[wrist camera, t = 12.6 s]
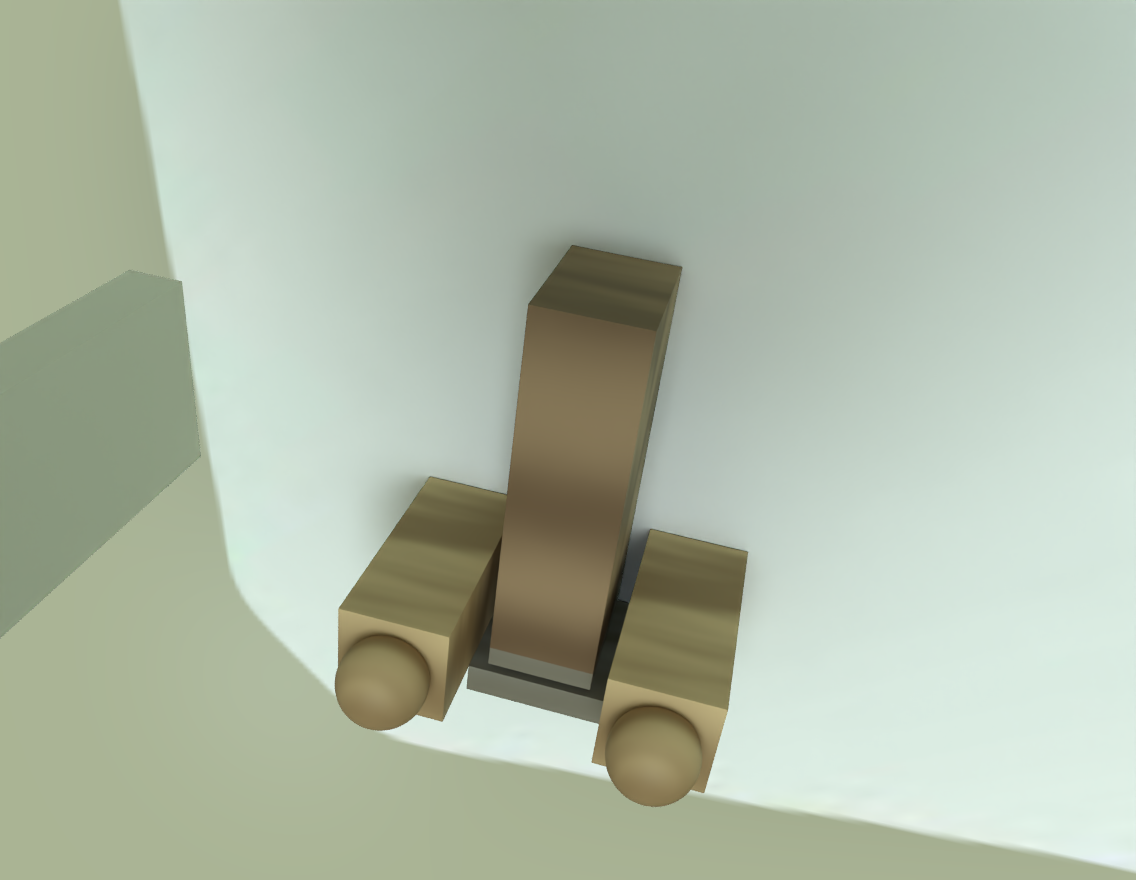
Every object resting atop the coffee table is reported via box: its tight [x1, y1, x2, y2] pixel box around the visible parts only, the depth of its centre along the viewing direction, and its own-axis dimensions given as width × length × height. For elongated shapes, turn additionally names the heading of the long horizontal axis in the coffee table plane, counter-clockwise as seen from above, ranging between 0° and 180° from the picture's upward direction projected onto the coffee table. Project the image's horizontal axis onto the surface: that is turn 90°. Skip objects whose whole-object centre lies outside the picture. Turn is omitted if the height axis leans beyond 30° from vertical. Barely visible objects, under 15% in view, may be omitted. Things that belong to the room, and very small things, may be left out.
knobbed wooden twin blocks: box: [335, 477, 748, 807], centre depth 37 cm, size 5×14×11 cm, turn 83°
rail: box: [488, 245, 682, 690], centre depth 36 cm, size 15×4×6 cm, turn 173°
